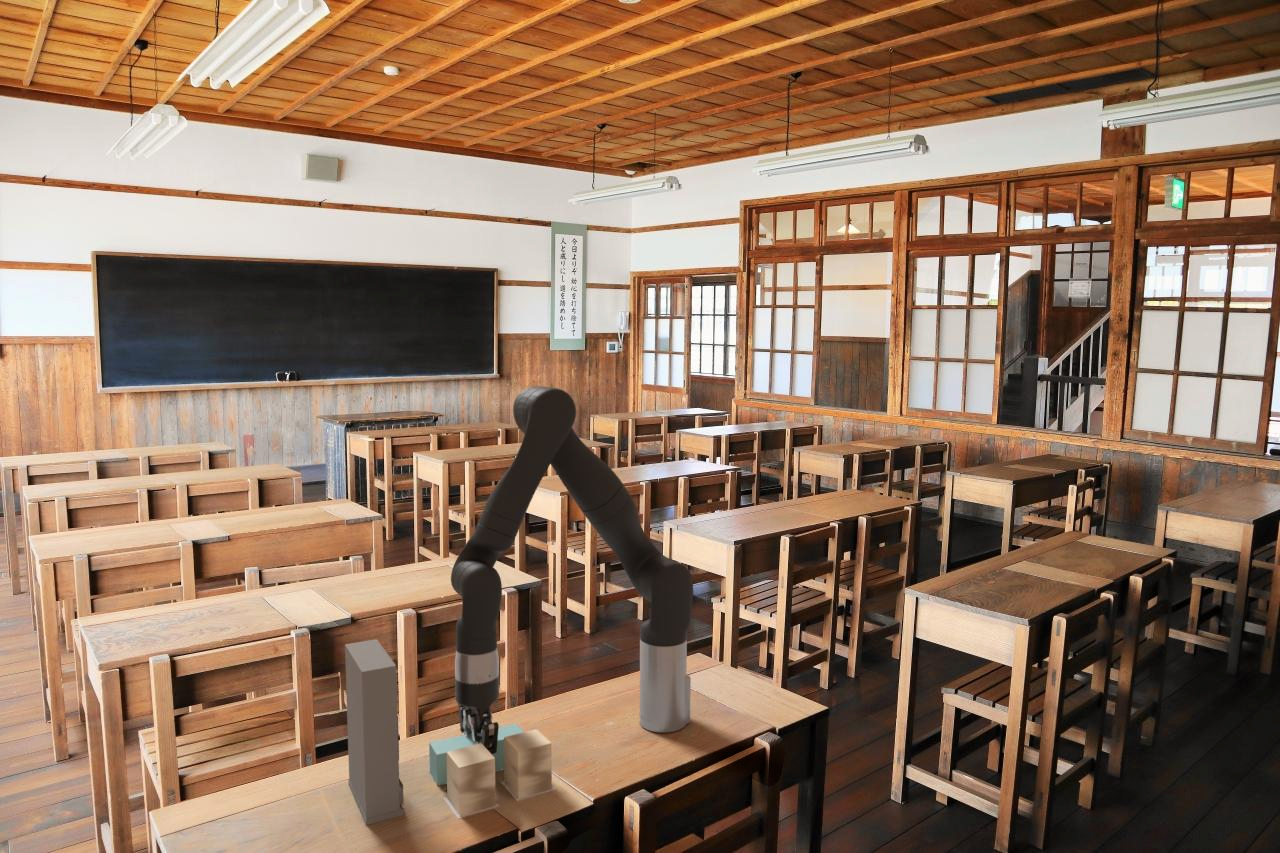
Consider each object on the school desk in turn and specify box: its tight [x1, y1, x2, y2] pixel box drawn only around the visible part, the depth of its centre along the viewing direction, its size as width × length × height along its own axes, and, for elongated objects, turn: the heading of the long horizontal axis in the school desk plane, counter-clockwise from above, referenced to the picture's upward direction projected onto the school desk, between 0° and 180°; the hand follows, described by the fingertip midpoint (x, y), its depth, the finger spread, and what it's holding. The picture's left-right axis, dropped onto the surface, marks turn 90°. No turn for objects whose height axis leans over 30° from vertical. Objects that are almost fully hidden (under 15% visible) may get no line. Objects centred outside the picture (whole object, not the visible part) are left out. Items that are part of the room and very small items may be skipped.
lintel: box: [428, 722, 525, 787], centre depth 147 cm, size 16×5×6 cm, turn 118°
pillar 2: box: [503, 728, 553, 799], centre depth 141 cm, size 6×6×8 cm
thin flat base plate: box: [443, 780, 557, 820], centre depth 139 cm, size 20×10×1 cm, turn 121°
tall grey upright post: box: [344, 639, 405, 826], centre depth 136 cm, size 14×6×25 cm, turn 30°
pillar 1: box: [446, 743, 497, 816], centre depth 136 cm, size 6×6×8 cm
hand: (478, 766), depth 147 cm, fingers closed on lintel, 5 cm apart
